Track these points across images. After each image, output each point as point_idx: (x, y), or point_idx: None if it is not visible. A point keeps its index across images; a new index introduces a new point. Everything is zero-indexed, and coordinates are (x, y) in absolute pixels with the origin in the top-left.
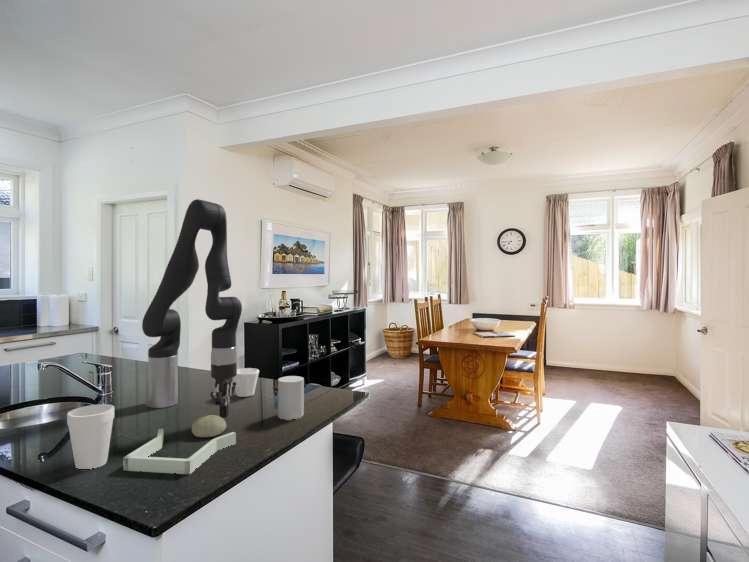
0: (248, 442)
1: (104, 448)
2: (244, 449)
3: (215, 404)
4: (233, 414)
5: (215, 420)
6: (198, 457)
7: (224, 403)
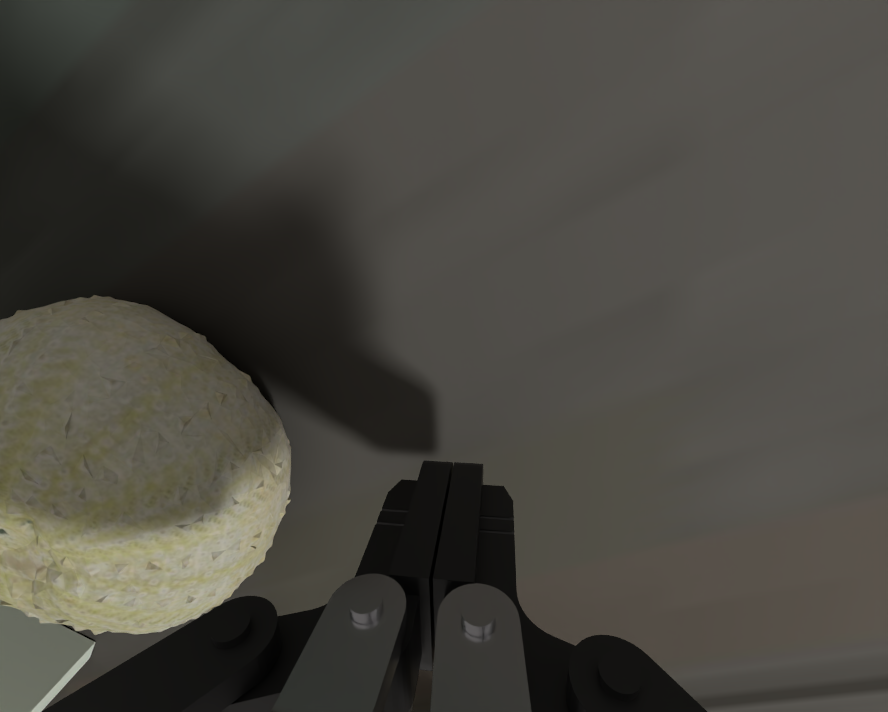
0: None
1: None
2: None
3: (193, 625)
4: (720, 468)
5: (26, 613)
6: None
7: None
